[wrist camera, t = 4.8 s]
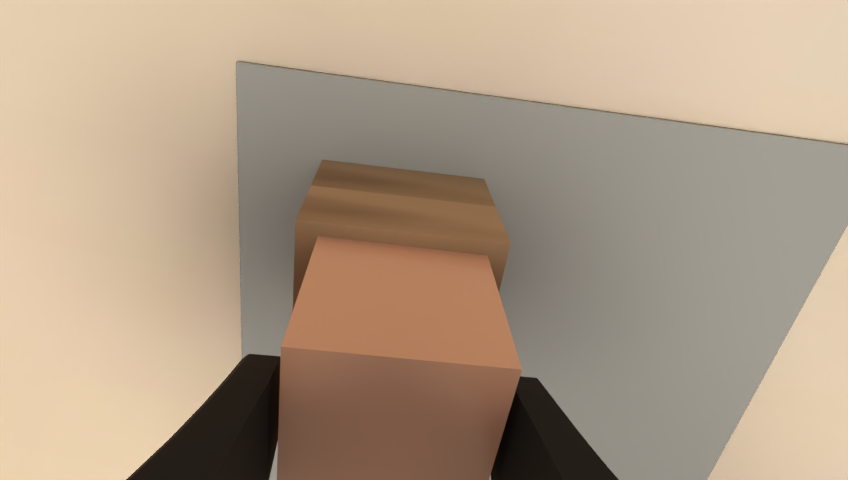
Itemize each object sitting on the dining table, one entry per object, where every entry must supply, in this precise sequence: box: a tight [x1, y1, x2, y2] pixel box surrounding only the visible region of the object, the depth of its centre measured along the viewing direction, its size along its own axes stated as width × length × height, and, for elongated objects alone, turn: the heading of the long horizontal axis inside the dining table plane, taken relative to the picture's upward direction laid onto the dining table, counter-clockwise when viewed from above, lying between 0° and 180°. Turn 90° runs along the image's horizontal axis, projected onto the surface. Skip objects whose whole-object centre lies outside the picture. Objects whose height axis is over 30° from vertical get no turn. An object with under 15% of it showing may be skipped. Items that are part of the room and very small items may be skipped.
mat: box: [236, 61, 848, 480], centre depth 20 cm, size 20×20×1 cm
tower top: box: [293, 185, 511, 309], centre depth 14 cm, size 5×5×2 cm
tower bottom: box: [311, 160, 496, 207], centre depth 16 cm, size 5×5×2 cm
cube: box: [277, 236, 522, 480], centre depth 11 cm, size 4×4×4 cm
